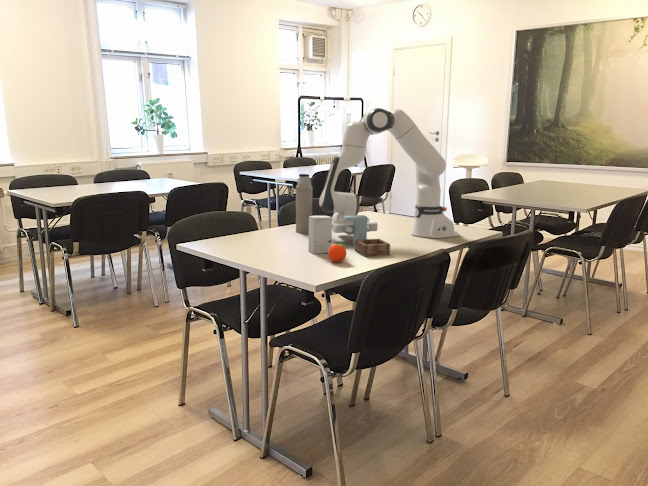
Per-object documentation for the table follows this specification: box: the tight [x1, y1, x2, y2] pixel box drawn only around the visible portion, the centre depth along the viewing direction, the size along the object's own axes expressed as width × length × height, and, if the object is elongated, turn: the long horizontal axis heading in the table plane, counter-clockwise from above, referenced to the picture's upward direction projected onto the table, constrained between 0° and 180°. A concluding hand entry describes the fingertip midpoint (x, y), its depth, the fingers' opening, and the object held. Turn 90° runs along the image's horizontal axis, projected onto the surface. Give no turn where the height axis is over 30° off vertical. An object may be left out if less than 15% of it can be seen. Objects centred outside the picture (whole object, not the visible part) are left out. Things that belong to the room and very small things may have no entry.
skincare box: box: [307, 215, 333, 255], centre depth 219 cm, size 8×6×15 cm
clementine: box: [327, 243, 349, 263], centre depth 203 cm, size 8×7×7 cm
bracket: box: [343, 214, 368, 247], centre depth 231 cm, size 10×4×13 cm, turn 107°
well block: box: [354, 238, 391, 258], centre depth 219 cm, size 11×11×4 cm
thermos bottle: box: [295, 173, 313, 234], centre depth 260 cm, size 8×8×28 cm
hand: (360, 230), depth 230 cm, fingers open, 6 cm apart
